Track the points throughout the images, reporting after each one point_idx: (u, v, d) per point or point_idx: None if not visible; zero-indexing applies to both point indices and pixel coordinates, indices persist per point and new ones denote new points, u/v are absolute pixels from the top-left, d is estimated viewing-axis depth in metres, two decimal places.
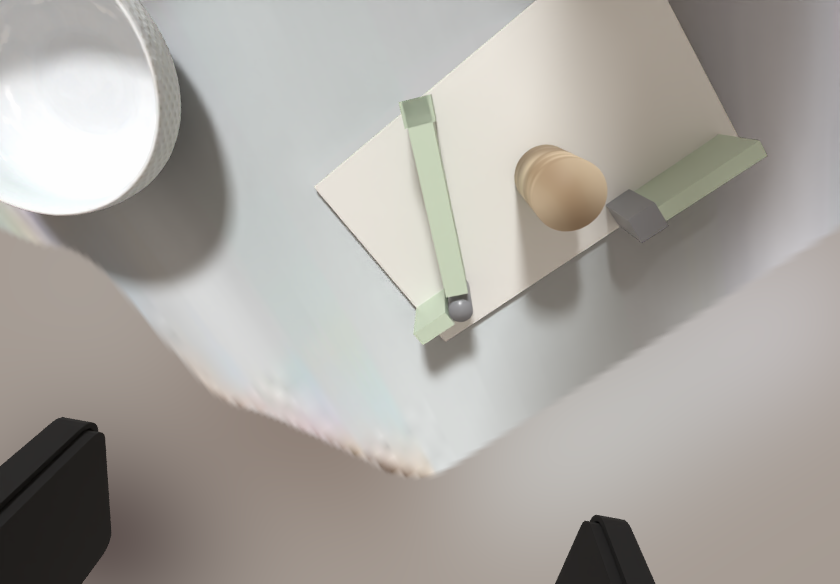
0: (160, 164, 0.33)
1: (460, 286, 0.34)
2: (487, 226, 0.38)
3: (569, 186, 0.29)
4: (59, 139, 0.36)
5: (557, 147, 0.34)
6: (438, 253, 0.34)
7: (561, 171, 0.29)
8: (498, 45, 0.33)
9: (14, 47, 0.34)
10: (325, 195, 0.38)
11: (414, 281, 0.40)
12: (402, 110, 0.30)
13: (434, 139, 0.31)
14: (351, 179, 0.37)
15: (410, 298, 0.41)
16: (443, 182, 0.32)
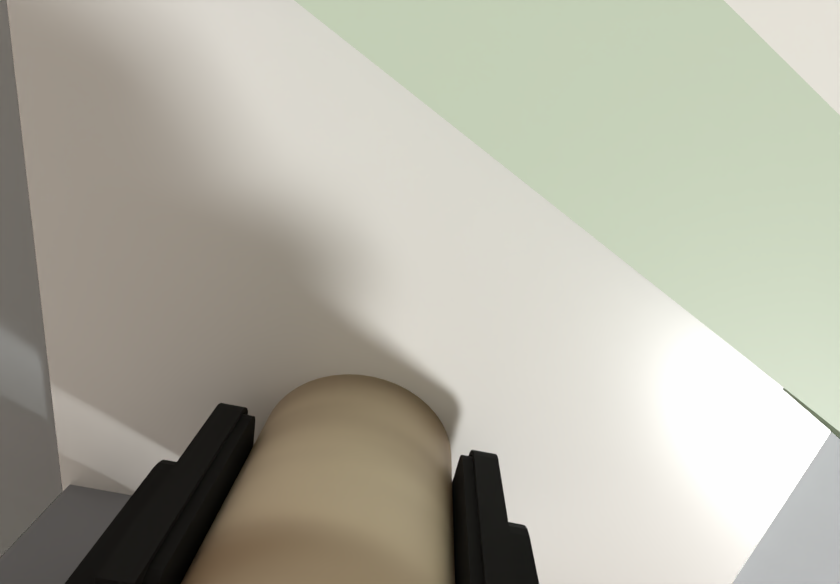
0: None
1: None
2: (362, 215, 0.09)
3: None
4: None
5: None
6: None
7: None
8: None
9: None
10: None
11: None
12: None
13: None
14: None
15: None
16: None
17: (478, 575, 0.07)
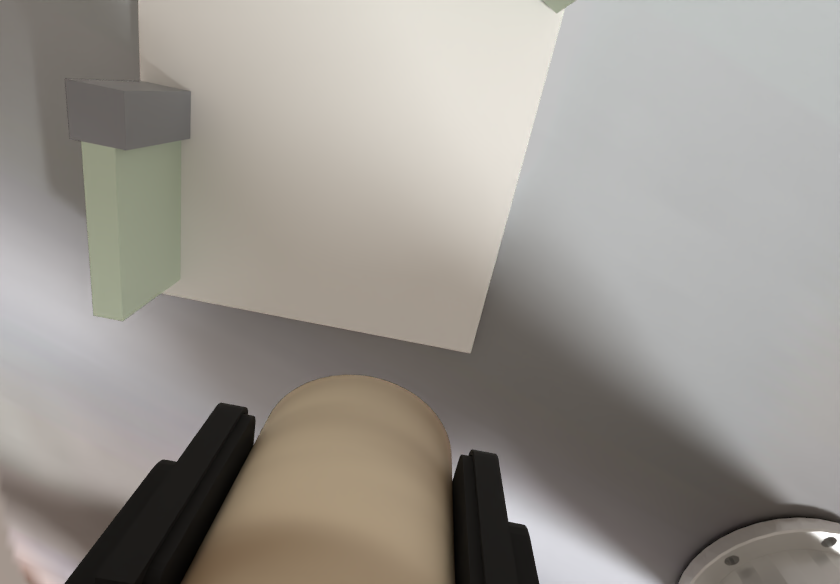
0: None
1: None
2: None
3: None
4: None
5: None
6: None
7: None
8: (509, 152, 0.21)
9: None
10: None
11: None
12: None
13: None
14: None
15: None
16: None
17: (478, 575, 0.07)
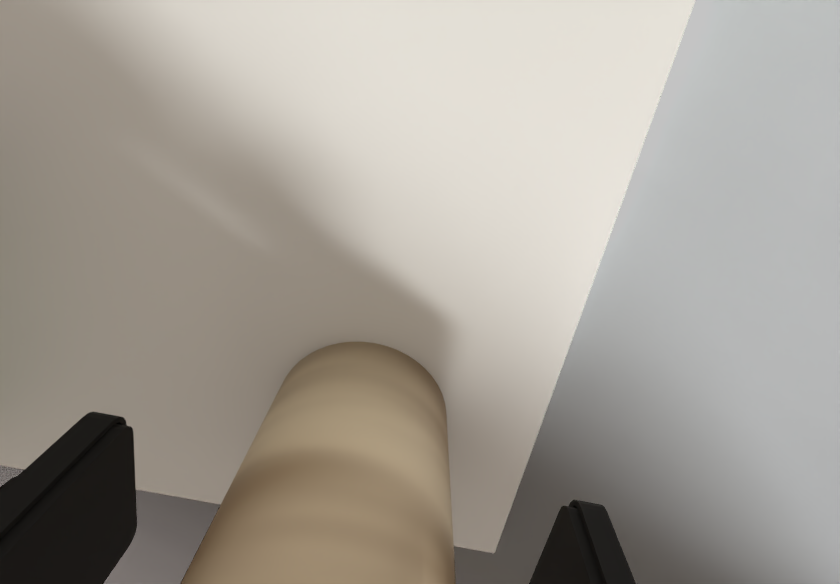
0: None
1: None
2: None
3: None
4: None
5: None
6: None
7: None
8: (583, 215, 0.10)
9: None
10: None
11: None
12: None
13: None
14: None
15: None
16: None
17: None
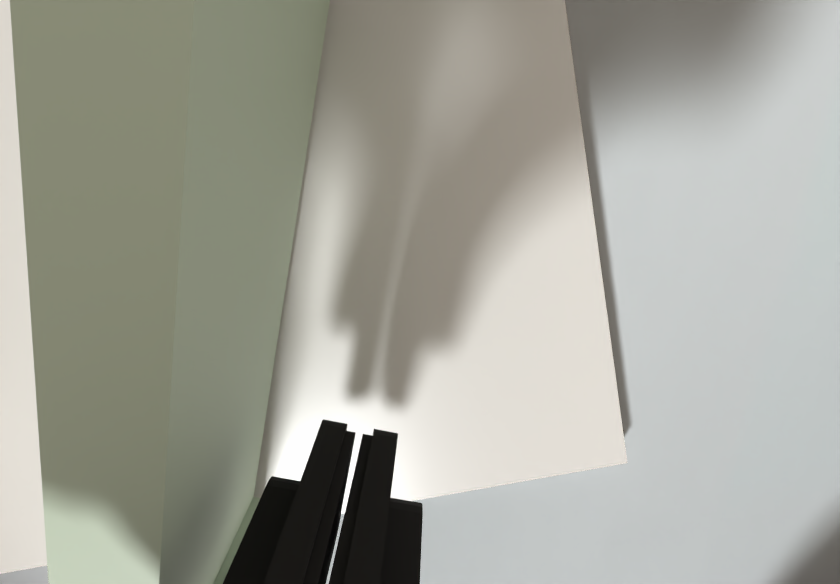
0: None
1: None
2: None
3: None
4: None
5: None
6: (162, 264, 0.05)
7: None
8: None
9: None
10: (612, 432, 0.12)
11: (487, 11, 0.09)
12: None
13: None
14: (513, 440, 0.12)
15: None
16: (53, 547, 0.07)
17: (345, 547, 0.07)
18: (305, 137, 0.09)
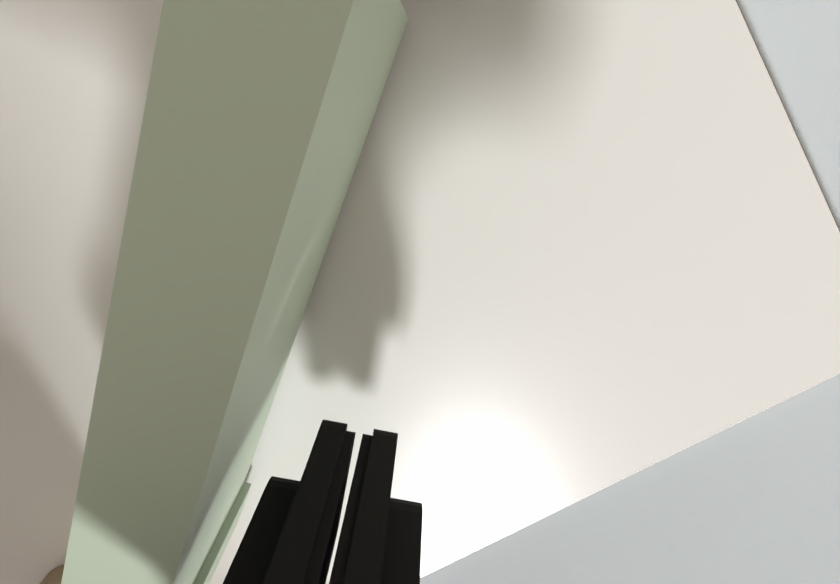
0: None
1: None
2: None
3: None
4: None
5: None
6: (252, 273, 0.05)
7: None
8: None
9: None
10: None
11: None
12: None
13: None
14: (754, 365, 0.12)
15: None
16: (79, 520, 0.07)
17: (344, 547, 0.07)
18: (361, 147, 0.09)
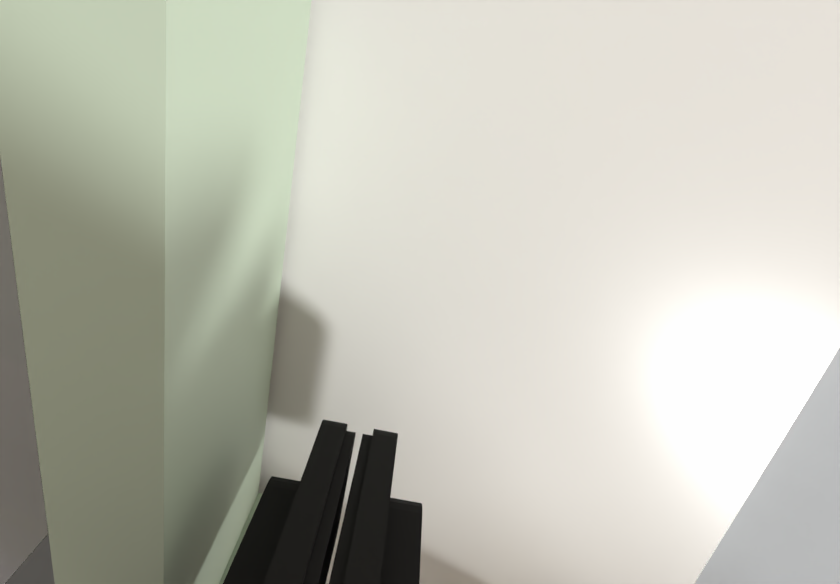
0: None
1: None
2: (395, 196, 0.10)
3: None
4: None
5: None
6: (148, 264, 0.05)
7: None
8: (695, 538, 0.14)
9: None
10: None
11: None
12: None
13: None
14: None
15: None
16: (57, 548, 0.07)
17: (344, 547, 0.07)
18: (293, 132, 0.09)
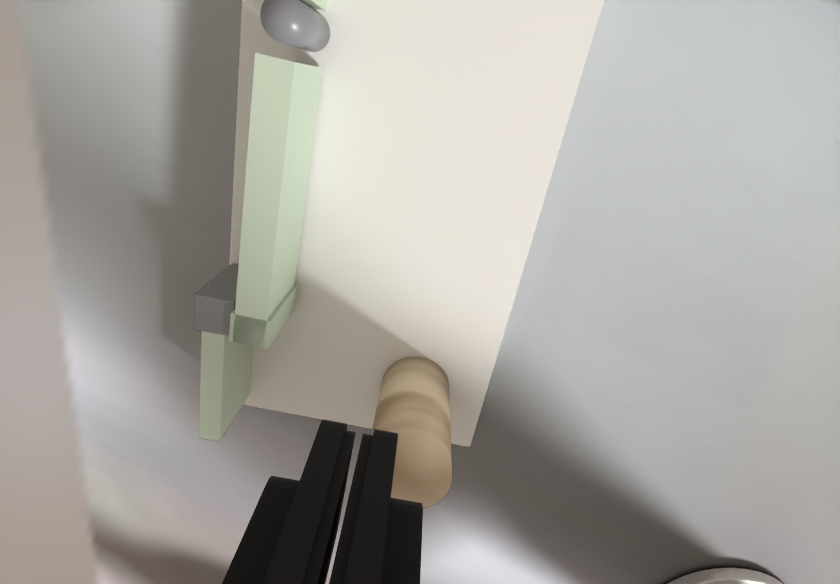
0: None
1: (264, 71, 0.20)
2: (353, 144, 0.26)
3: (417, 482, 0.24)
4: None
5: None
6: (281, 146, 0.21)
7: (437, 487, 0.24)
8: (498, 312, 0.29)
9: None
10: (580, 1, 0.23)
11: None
12: (266, 340, 0.24)
13: (238, 295, 0.24)
14: (558, 55, 0.24)
15: None
16: (242, 242, 0.22)
17: (345, 547, 0.07)
18: (314, 118, 0.25)
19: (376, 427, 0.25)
